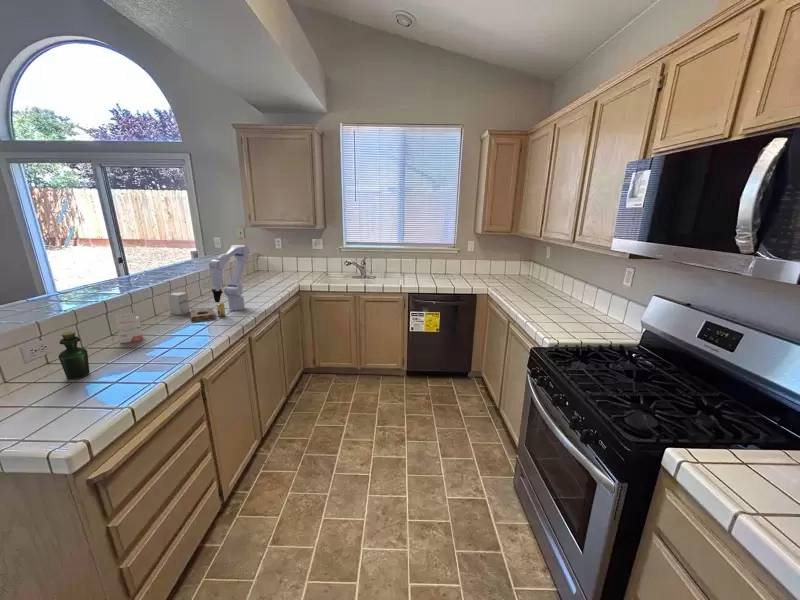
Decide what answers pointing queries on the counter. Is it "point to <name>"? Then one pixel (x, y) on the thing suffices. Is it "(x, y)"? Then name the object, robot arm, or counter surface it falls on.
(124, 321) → the ink cartridge box
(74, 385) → the counter surface
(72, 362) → the potion bottle
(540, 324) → the counter surface
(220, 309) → the brass cylinder
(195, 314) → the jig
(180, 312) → the supplement box
